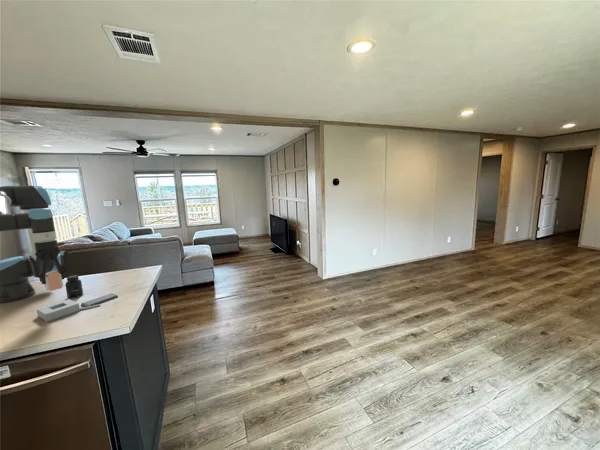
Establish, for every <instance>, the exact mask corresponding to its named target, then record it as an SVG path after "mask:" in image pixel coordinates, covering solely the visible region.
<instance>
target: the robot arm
mask: <svg viewBox="0 0 600 450" xmlns="http://www.w3.org/2000/svg"><path fill="white" fill-rule="evenodd" d="M51 205H52V202H51V197H50V195H49V193H48V190H47V188H46V187H45V186H42V185H3V186H0V232H8V231H18V230H19V231H21V230H27V232H28V237H29V240H30V241H29V242H30V246H31V247H30V248H31V252H30V253H29V254H28V255H29V256H28V257H24V256H23V255H19V256H13V257H10V258H9V257H8V258H5V259H2V260H1V259H0V304H1V303H2V304H3V303H10V301H11V302H15V301H19V300H23V299H26V298H30V297H31V296H34V295H35V294H36V289H35V288H34V286H33V285H32V284H31V283H30V281H29V278H30V277H31V278H32V277H33V278H40V283H41V285H44V287H45V290H46V291H50V287H49V282H48V277H46V276H45V274H46V273H48V272H52V271H57V272H59V274H60V280H61V285H62V288H63V287H64V282H63V280H65V272H68V271H69V266H68V265H69V264H68V258H67V255H68V251H66V250H60V249H59V244H58V240H56V239H57V234H56V229H55V223H54V216H53V215H54V214H53V213H52V209H51V208H50V207H49V206H51ZM13 207H14V208H15V207H17V208H18V207H19V210H20V211H22V212H23V213H11V208H13Z"/></svg>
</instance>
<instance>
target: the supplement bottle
mask: <svg viewBox="0 0 600 450" xmlns="http://www.w3.org/2000/svg"><path fill="white" fill-rule="evenodd" d="M64 286H65V290H66V297H67V299H70V300H72V299H75V298H76V299H77V298H80V297H82V296H83V295H84V291H83V289H84V288H83V284H82V280H81V279H79V275H78V274H76V275H69V276H67V277H66V283H65V285H64Z"/></svg>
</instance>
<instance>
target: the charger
mask: <svg viewBox="0 0 600 450" xmlns="http://www.w3.org/2000/svg"><path fill="white" fill-rule="evenodd" d="M45 276H46V277H48V282H49V287H50V290H49V291H50V292H51V291H55V290H59V289H62V288H63V287H62V285H61V280H60V274H59V272H58V271H52V272H48V273H46V274H45Z"/></svg>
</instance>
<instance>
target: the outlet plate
mask: <svg viewBox="0 0 600 450" xmlns="http://www.w3.org/2000/svg"><path fill="white" fill-rule="evenodd" d="M80 308H81V307H80V302H77V301H74V300H72V299H70V298H67V299H64V300H61V301H58V302H55V303H51V304H49V305H45V306H42V307H39V308H36V313H37V317H38V318H39V319H41V320H42V321H44V322H45V323H50V322H52V321H54V320H58V319H61V318H64V317H67V316H69V315H72V314H75V313H78V312H81V310H80Z"/></svg>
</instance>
